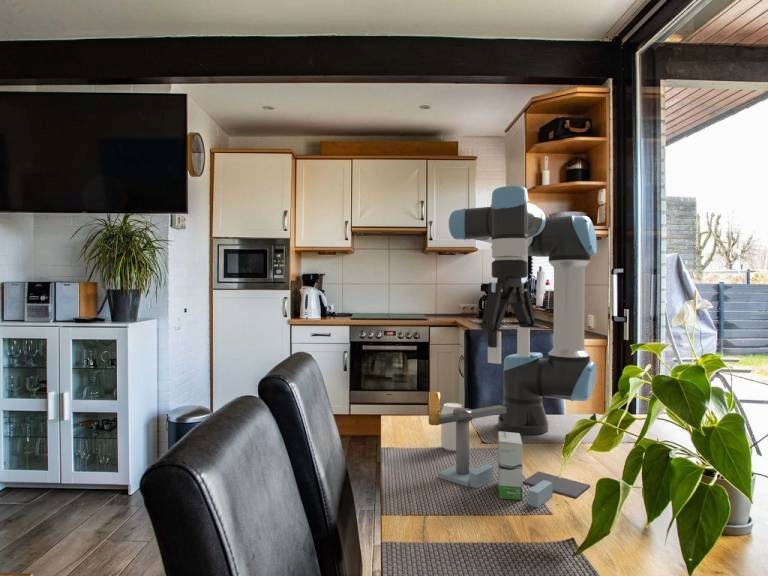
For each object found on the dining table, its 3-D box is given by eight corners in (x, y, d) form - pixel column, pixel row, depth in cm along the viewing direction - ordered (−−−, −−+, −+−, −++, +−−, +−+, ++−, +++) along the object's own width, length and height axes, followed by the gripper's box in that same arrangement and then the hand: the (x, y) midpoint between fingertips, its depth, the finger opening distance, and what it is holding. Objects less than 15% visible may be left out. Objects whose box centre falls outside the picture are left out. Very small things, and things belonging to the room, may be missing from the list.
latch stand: (457, 467, 121) (457, 413, 121) (553, 495, 105) (553, 433, 105) (438, 477, 115) (438, 420, 115) (536, 508, 99) (536, 442, 99)
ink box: (523, 501, 102) (523, 443, 102) (498, 499, 103) (498, 442, 103) (520, 484, 111) (520, 431, 111) (497, 482, 112) (497, 430, 112)
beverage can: (462, 453, 131) (462, 408, 131) (439, 451, 133) (439, 406, 133) (465, 446, 137) (465, 402, 137) (443, 444, 139) (443, 401, 139)
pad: (538, 473, 117) (538, 471, 117) (590, 486, 109) (590, 484, 109) (522, 483, 111) (522, 481, 111) (576, 498, 103) (576, 496, 103)
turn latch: (424, 422, 112) (424, 391, 112) (496, 409, 123) (496, 381, 123) (435, 427, 108) (435, 395, 108) (509, 413, 119) (509, 384, 119)
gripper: (519, 262, 118) (520, 352, 118) (463, 258, 100) (463, 364, 100) (550, 260, 113) (550, 355, 113) (496, 256, 95) (496, 368, 95)
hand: (509, 359), depth 107 cm, fingers open, 12 cm apart
